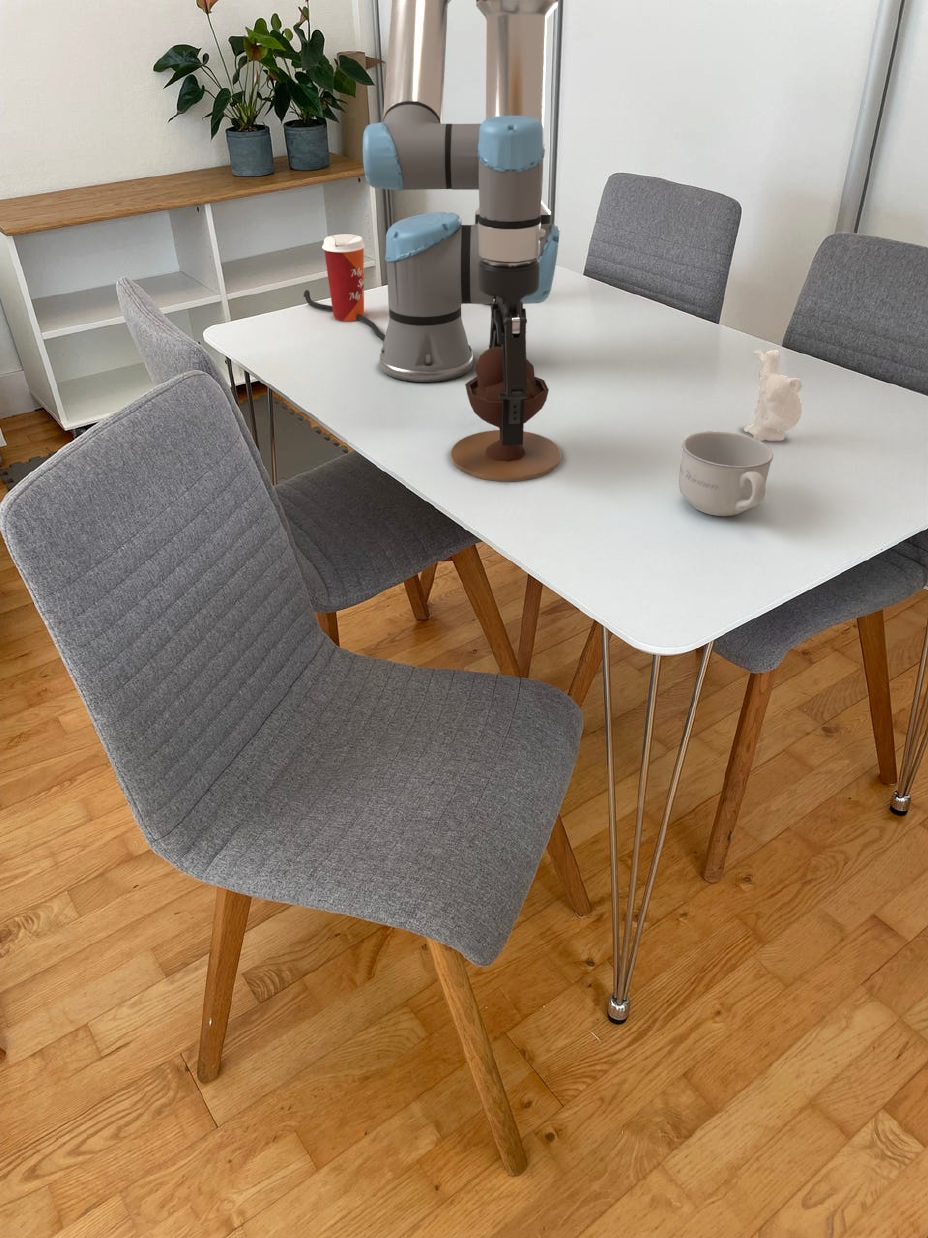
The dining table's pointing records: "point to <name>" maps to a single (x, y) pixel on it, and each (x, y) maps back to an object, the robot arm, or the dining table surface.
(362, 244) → the paper cup
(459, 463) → the brown round coaster
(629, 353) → the dining table surface
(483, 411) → the ice cream bowl
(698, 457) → the teacup
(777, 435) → the koala figurine
